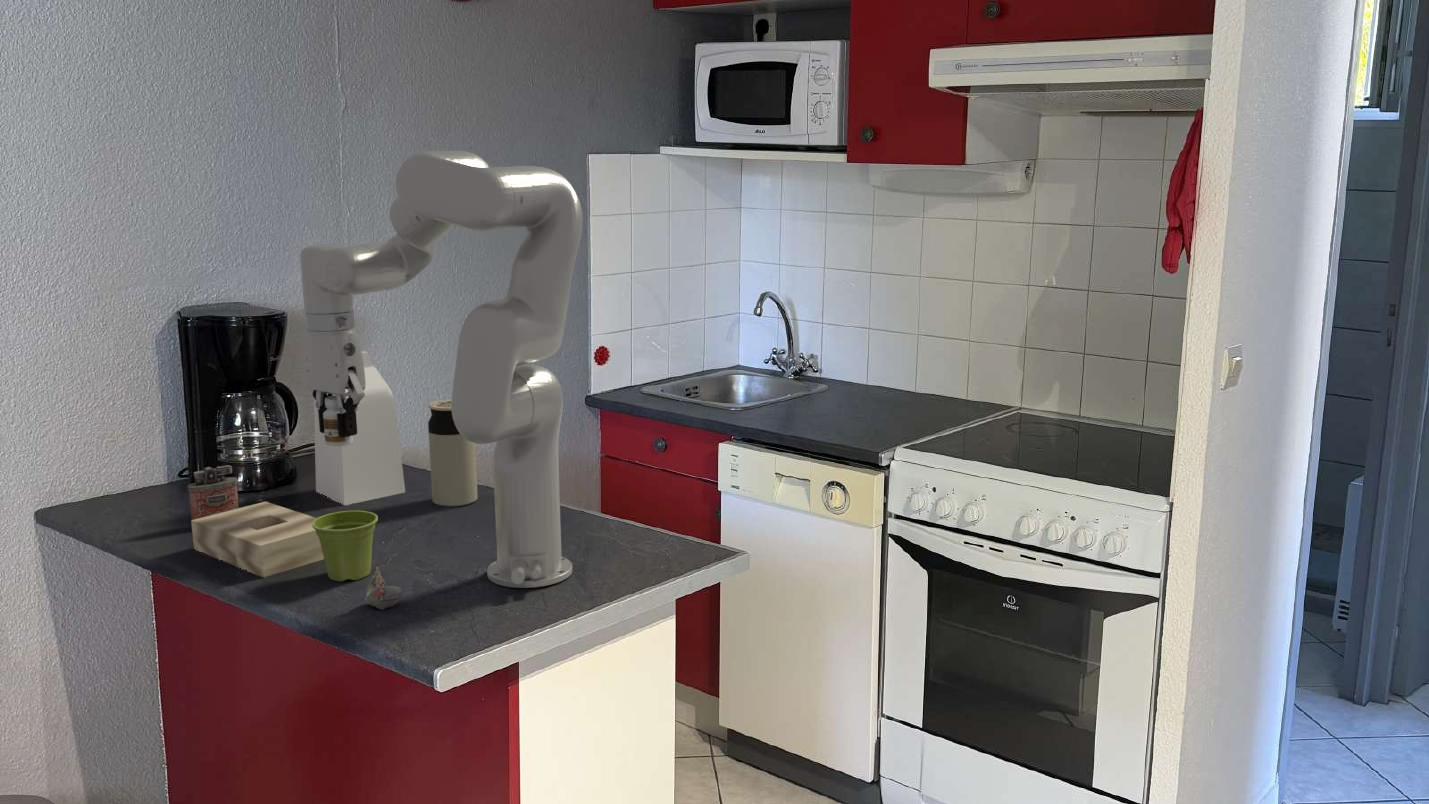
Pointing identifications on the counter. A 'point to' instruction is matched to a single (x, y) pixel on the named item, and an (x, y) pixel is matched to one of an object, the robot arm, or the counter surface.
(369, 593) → the figurine
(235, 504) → the lighter
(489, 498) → the counter surface
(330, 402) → the pill bottle
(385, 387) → the milk
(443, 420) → the travel mug
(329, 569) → the plant pot
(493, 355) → the robot arm
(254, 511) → the hole block
